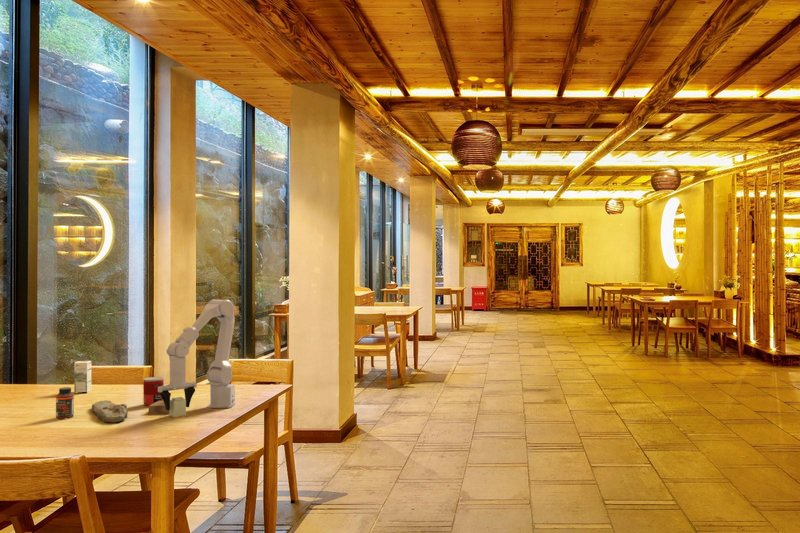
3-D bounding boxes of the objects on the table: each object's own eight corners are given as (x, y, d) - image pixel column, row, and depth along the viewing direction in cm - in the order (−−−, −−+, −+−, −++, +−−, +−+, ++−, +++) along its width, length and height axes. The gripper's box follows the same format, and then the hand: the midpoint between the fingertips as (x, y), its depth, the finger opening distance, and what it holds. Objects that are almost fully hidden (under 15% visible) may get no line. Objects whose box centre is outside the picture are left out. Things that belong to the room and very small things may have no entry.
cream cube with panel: (181, 413, 232) (181, 396, 232) (186, 415, 228) (185, 397, 228) (169, 415, 228) (169, 397, 228) (174, 417, 225) (174, 399, 225)
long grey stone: (113, 409, 247) (87, 413, 241) (112, 396, 247) (86, 400, 241) (133, 420, 219) (104, 426, 213) (132, 406, 219) (103, 411, 213)
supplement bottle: (55, 420, 221) (55, 390, 222) (56, 417, 227) (56, 387, 227) (73, 418, 224) (73, 388, 224) (73, 415, 229) (74, 386, 230)
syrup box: (91, 390, 278) (91, 360, 278) (86, 393, 272) (87, 361, 273) (79, 391, 277) (79, 360, 278) (73, 393, 272) (73, 362, 272)
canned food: (156, 406, 243) (156, 380, 243) (139, 406, 245) (139, 379, 245) (167, 403, 251) (167, 377, 251) (150, 402, 252) (150, 376, 252)
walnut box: (180, 409, 240) (180, 400, 240) (171, 414, 231) (171, 405, 231) (158, 409, 240) (158, 400, 240) (148, 414, 231) (148, 405, 231)
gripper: (163, 376, 221) (162, 413, 220) (200, 372, 231) (200, 407, 230) (155, 374, 226) (155, 410, 225) (192, 370, 236) (192, 404, 235)
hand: (177, 408), depth 228 cm, fingers open, 7 cm apart
